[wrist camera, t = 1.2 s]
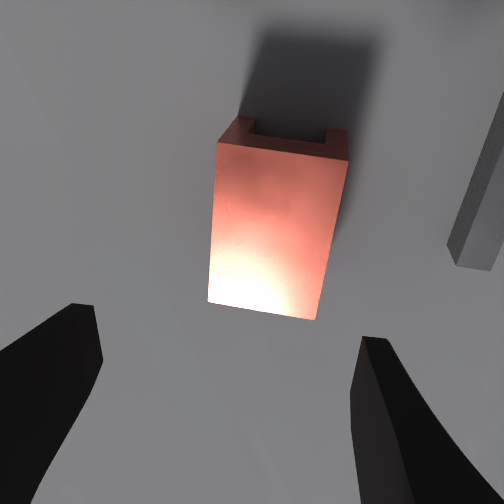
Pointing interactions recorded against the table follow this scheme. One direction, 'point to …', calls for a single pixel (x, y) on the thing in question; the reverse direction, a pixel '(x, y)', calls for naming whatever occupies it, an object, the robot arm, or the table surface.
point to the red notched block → (274, 218)
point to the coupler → (482, 206)
